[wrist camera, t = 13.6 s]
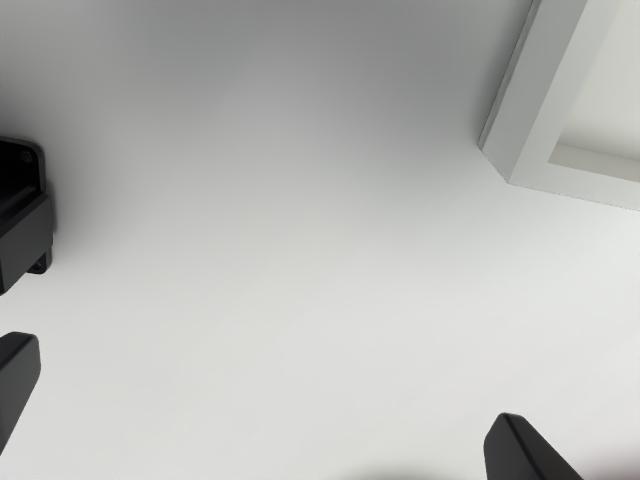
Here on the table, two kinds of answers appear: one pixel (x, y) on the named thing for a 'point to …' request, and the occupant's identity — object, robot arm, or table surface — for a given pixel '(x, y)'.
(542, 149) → the tray
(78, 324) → the table surface
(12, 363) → the robot arm
